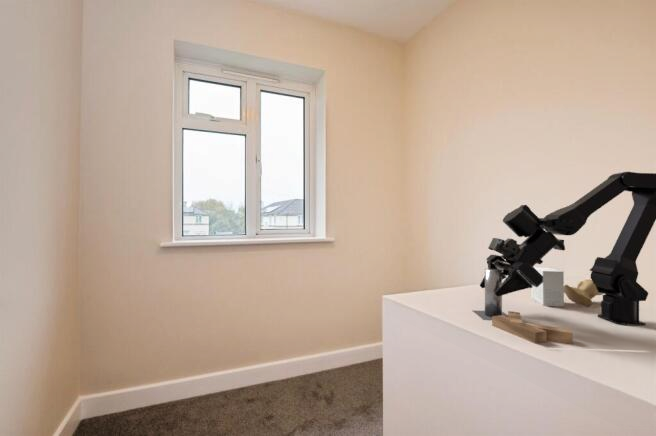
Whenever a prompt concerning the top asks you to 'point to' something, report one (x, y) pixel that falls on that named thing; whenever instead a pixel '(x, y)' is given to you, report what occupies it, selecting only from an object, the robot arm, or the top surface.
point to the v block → (531, 329)
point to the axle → (492, 292)
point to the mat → (483, 316)
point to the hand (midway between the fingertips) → (488, 290)
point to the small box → (549, 288)
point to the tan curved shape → (582, 292)
